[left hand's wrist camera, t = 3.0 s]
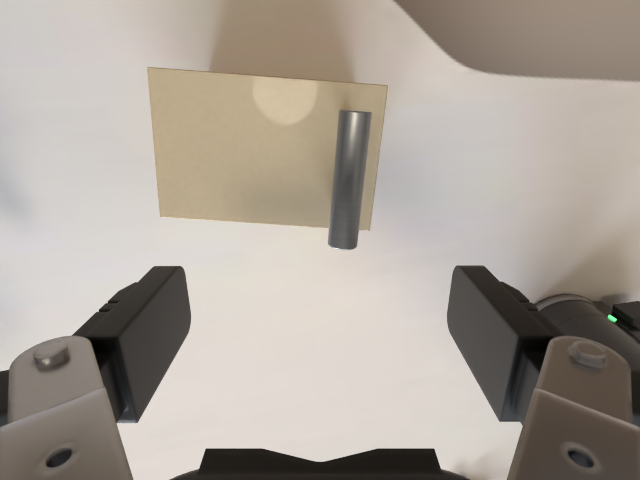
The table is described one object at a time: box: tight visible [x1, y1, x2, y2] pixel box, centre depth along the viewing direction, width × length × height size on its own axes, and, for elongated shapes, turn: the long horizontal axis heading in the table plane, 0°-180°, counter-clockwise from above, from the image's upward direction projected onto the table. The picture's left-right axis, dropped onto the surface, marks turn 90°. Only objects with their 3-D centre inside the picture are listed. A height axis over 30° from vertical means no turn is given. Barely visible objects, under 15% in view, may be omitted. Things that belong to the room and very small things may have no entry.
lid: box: [147, 67, 388, 250], centre depth 20 cm, size 14×9×8 cm, turn 86°
